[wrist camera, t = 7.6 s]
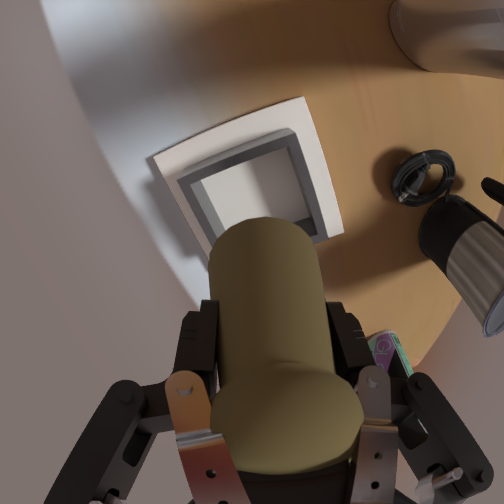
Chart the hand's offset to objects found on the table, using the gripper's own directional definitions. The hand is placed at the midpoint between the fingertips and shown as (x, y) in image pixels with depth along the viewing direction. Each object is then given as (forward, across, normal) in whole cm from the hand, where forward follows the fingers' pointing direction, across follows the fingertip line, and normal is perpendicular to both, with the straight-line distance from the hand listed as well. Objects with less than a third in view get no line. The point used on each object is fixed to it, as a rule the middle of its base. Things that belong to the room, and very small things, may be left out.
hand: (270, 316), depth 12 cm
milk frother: (+17, -21, 0) cm, 27 cm away
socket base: (+16, 0, 0) cm, 16 cm away
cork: (+4, 0, 0) cm, 4 cm away
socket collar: (+15, 0, 0) cm, 15 cm away
